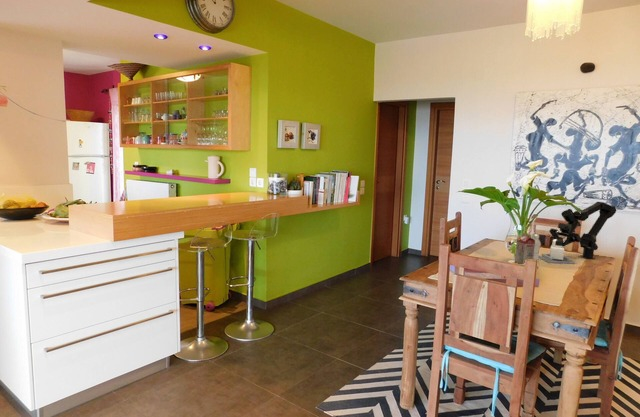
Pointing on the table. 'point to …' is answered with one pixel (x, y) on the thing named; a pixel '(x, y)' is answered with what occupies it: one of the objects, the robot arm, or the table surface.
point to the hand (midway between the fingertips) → (557, 244)
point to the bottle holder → (550, 260)
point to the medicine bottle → (557, 249)
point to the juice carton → (524, 248)
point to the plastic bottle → (536, 246)
